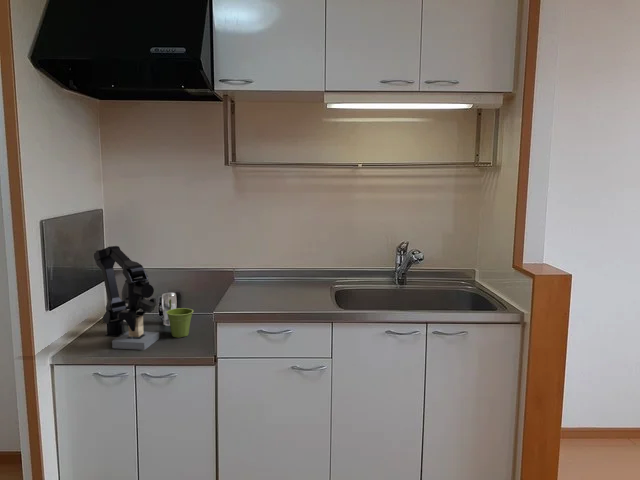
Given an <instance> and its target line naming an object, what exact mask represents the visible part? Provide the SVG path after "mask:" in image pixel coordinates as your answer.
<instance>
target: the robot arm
mask: <svg viewBox="0 0 640 480" xmlns="http://www.w3.org/2000/svg"><path fill="white" fill-rule="evenodd" d="M93 258H94V261H95V263H96V265H97V267H98V268H99V269H100V270H101V272H102V278H103V283H104V287H105V291H106V295H107V296H106V297H107V303H106V306H105V313H104V315H103V316H102V320H103V321H102V322H103V323H105V324H106V333H105V336H107V337H120V336H121V335H123V334H124V333H126V330H125V325H124V323H123V320H125V321H126V322H127V324H128V325H129V327H130V329H131V330H132V331H135V324H136V319H137V318H138V317H139V316H143V317H144V315H145V314H146V313H152V312H154V310H155V308H156V307H157V300H156V298H154V297H152V296H153V295H154V291H155V288H154V287H153V285H152V284H150V281H149V276H148V274H147V272H146V270H145V267H144V266H143V265H142V264H141V263H139V262H137V261H133V260H132V259H131V258H129V256H127V254H125V253H124V252H123V251H122V250H121V248H120V246H118V245H111V246H107V247H105V248H103V249H97V250H95V252H94V254H93ZM115 264H117V265H118V266H119V267H120V268H121V269H122V274H123V276H124V277H125V280H124V283H125V282H126V283H127V293H128V296H127V297H126V300H128V306H127V307H126V303H125V301H122V298H121V297H120V294H119V293H120V291H119V289H118V285H117V278H116V274H115V270H114V266H115ZM149 298H150V299H149ZM127 309H129V310H127ZM136 315H137V316H136ZM128 325H127V326H128Z"/></svg>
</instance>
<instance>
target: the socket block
mask: <svg viewBox="0 0 640 480" xmlns="http://www.w3.org/2000/svg"><path fill="white" fill-rule="evenodd" d="M158 340H160V332H159V331H145V330H143V334H142V335H141V336H139V337H130V336H129V330H127V331H125V333H123V334H121V335H120V336H117V338H115V339H113V340H112V341H111V344H112V349H119V350H120V349H122V350H123V349H124V350H139V351H145V350H146V349H148V348H149V347H150V346H152V345H153V344H154V343H156V342H157V341H158Z"/></svg>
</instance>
